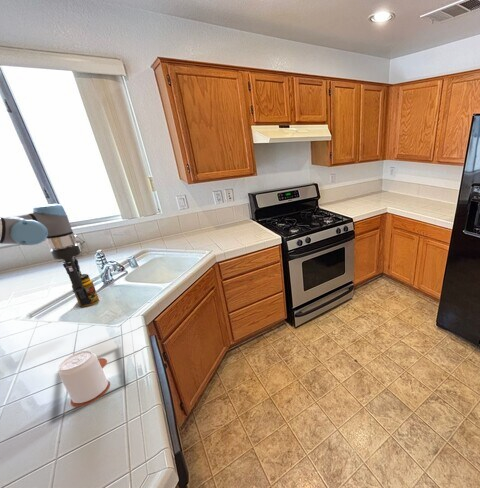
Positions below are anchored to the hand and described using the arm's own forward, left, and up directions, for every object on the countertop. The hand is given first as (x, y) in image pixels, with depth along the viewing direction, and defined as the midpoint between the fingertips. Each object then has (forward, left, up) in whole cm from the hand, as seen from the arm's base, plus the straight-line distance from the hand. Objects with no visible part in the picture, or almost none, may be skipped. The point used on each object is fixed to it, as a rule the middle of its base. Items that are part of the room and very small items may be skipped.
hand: (86, 301), depth 104 cm
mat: (-3, -35, -13) cm, 37 cm away
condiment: (0, 0, -2) cm, 2 cm away
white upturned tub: (-3, -41, -12) cm, 43 cm away
